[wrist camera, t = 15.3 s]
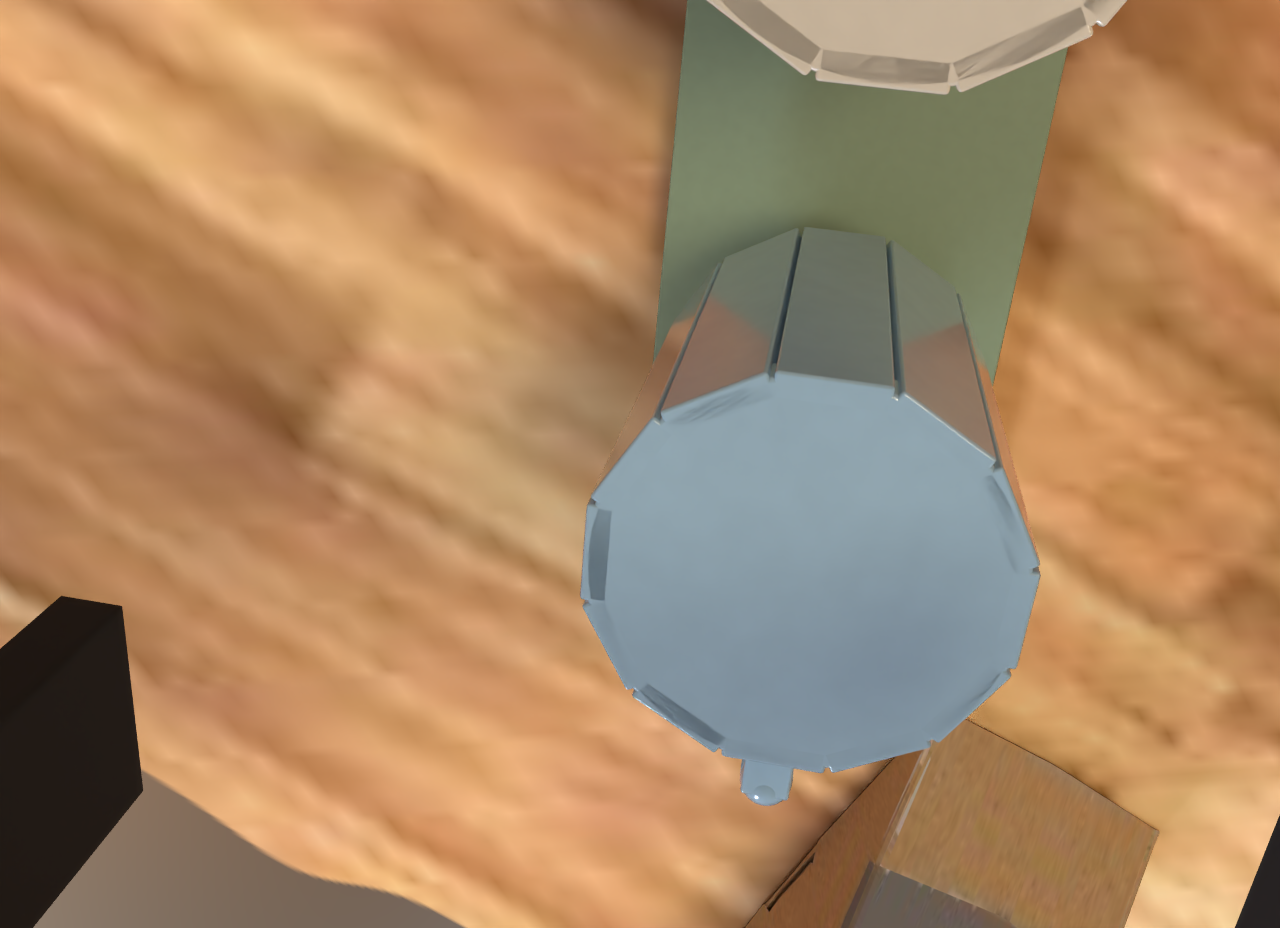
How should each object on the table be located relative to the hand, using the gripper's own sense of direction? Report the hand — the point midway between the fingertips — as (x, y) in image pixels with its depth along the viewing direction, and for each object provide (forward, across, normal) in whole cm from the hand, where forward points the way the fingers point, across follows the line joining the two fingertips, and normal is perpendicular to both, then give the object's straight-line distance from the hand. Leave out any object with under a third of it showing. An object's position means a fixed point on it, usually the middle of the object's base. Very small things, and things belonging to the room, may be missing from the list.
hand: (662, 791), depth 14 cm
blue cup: (+17, +2, -3) cm, 17 cm away
